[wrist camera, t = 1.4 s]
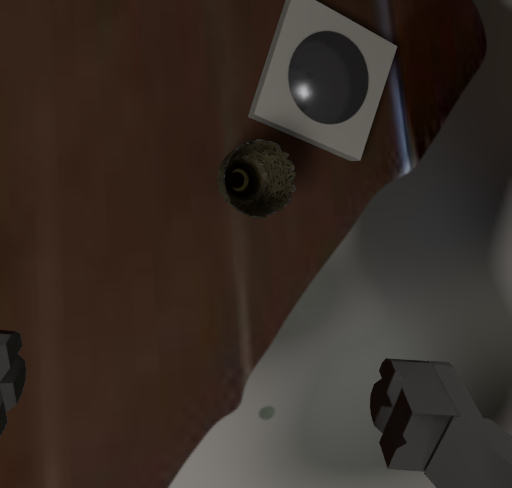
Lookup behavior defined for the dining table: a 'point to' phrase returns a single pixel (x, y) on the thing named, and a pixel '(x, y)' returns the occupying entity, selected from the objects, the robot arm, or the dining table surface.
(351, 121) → the display tile
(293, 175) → the cup
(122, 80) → the dining table surface
